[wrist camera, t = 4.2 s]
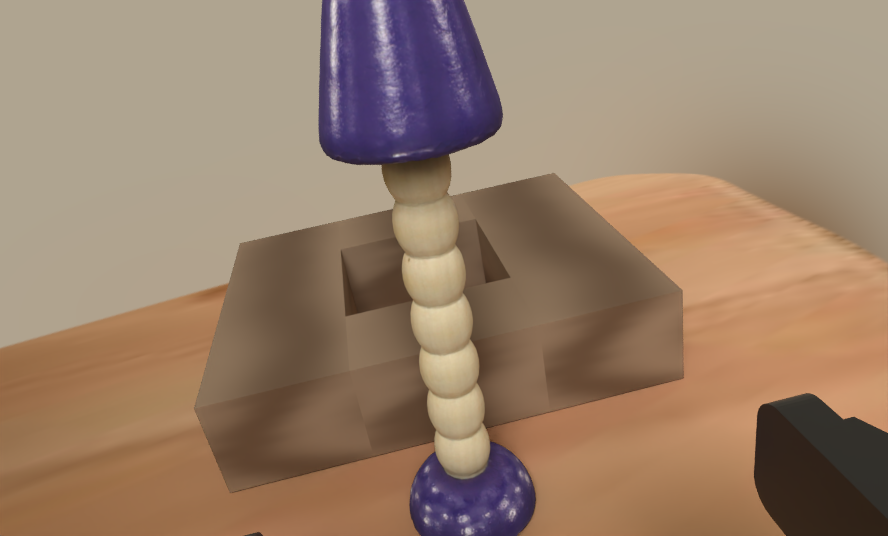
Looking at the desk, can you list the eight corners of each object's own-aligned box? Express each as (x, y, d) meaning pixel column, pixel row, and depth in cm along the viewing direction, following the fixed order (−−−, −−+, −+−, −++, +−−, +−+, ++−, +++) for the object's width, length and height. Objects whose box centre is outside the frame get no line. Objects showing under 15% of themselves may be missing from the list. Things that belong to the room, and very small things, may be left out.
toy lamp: (470, 435, 25) (376, -37, 18) (578, 478, 23) (520, -62, 15) (385, 522, 22) (231, -6, 15) (499, 585, 19) (377, -30, 12)
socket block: (230, 492, 25) (194, 408, 23) (261, 305, 38) (239, 243, 37) (683, 378, 26) (682, 290, 25) (560, 236, 40) (554, 173, 38)
